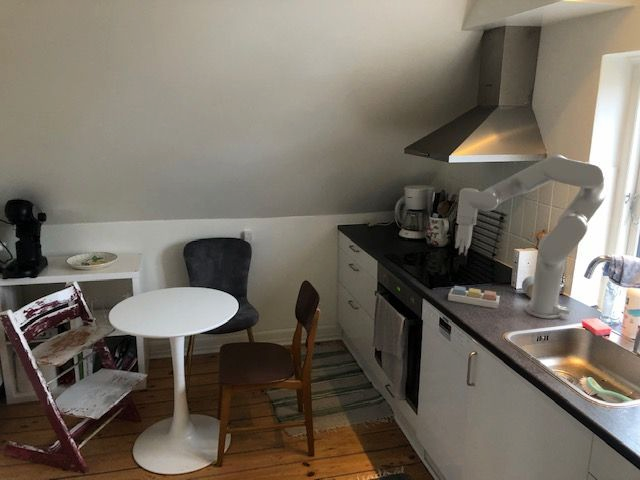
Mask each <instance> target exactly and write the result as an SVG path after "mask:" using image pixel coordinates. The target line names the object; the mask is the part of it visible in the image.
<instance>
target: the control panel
mask: <svg viewBox="0 0 640 480" xmlns="http://www.w3.org/2000/svg"><path fill="white" fill-rule="evenodd" d="M453 288H454V287H452V288H451V289H450V291H449V293H448V295H447V296H448V297H447V301H450V302H456V303H464V304H468V305H474V306H479V307H486V308H493V309H498V307H499V304H500V297H501V296H500V295H497V294H496V299H495V301H493V300H487V299H483V296H484V292H481V293H480V298H475V297H469V296H468V291H469V290H466V291H465V296H462V295H456V294H453Z"/></svg>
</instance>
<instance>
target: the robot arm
mask: <svg viewBox="0 0 640 480" xmlns="http://www.w3.org/2000/svg"><path fill="white" fill-rule="evenodd" d="M606 175H607V174H606V172H605V169H604V168H603V166H602V165H601V164H600V163H598V162H596V161H586V162H585V161H581V160H580V161H579V160H575V159H571V158H566V157H565V156H563V155H561V154H552V155H550V156H547V157H545V158H544V159H542V160H540V161H538V162H536V163H534V164H531V165H530V166H528V167H526V168H525V169H523V170H520V171H519V172H516V173H515V174H513V175H510V177H507V178H506V179H504V180H501V181H499V182H498V183H495V184H493V185H492V186H490V187H488V188H486V189H484V190H483V191H479V190H478V189H477V188H473V187H472V188H471V187H465V188H464V187H463V188H461V189H460V191H459V196H458V204H457V205H458V206H457V214H456V215H457V216H456V224H458V225H457V232H456V238H455V244H454V245H455V246H454V248H455V249H458V254H457V255H458V256H457V265H460V266H461V265H462V266H466V264H467V259H468V249H469V248H470V245H471V242H472V237H473V227H474V226H476V225H477V219H478V213H479V212H478V211H479V210H483V211H487V212H489V211H493V210H495V209H496V208H497V207H498V206H499V204H501V203H503V202H505V201H507V200H509V199H511V198H513V197H516V196H519V195H523V194H524V195H525V194H529V193H531V192H534V191H535V190H538V189H539V188H541V187H543V186H545V185H547V184H549V183H551V182H553V181H554V182H558V183H561V184H564V185H570V186H574V187H578V188H579V190H578V192H577V194H576V195H575V197H574V199H573V200H572V201H571V203H569V205H568V206H567V208H566V209H565V210H564V211H563V212H562V213H561V214H560V215H559V217H558V219H557V224H556V225H555V227H553V229H552V230H551V231H550V232H548V233H546V234H544V235H543V236H542V237H540V239H539V242H538V247H537V256H536V262H535V263H536V264H535V269H534V270H535V271H534V276H533V277H534V282H533V289H532V296H531V298H530V303H529V304H527V305H526V306H525V311H526V313H528V314H529V315H531V316H534V317H536V318H537V317H538V318H542V319H552V320H553V319H558V318H560V317H561V314H564V315H570V309H568V307H566V306H561V304H560V302H559V298H560V293H561V292H560V291H561V285H562V284H561V283H562V280H563V279H562V278H563V273H564V266H565V260H566V259H567V258H568V257H569V255H571V253H572V252H573V251H574V250H575V248H576V247H577V246H578V245H579V244H580V242H581V241H582V240H583V239H584V237H585V236H586V234H587V232H588V223H589V221H590V220H591V218H592V217H593V216H594V215H595V214H596V212H597V211H598V210H599V208H600V207H601V205H602V204H603V203H604V200H605V199H606V196H607V192H608V178H607V176H606Z"/></svg>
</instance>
